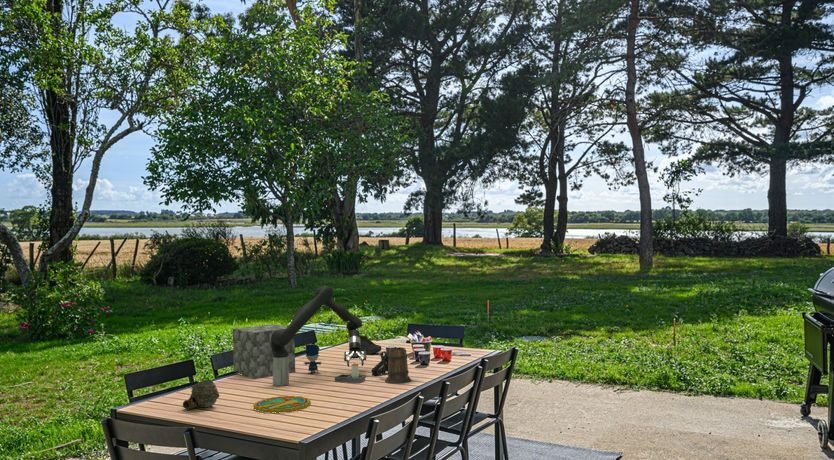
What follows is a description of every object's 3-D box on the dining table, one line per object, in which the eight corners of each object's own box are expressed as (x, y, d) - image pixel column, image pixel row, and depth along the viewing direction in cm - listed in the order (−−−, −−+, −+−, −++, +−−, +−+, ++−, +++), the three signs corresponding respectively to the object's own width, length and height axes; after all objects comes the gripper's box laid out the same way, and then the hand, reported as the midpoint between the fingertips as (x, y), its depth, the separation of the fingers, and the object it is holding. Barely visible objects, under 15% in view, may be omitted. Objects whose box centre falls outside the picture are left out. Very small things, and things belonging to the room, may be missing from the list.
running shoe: (375, 356, 496) (375, 338, 496) (346, 352, 514) (345, 335, 514) (385, 353, 505) (384, 336, 505) (355, 350, 523) (355, 333, 523)
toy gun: (402, 365, 440) (391, 348, 435) (406, 366, 435) (395, 349, 431) (379, 387, 429) (368, 369, 425) (383, 388, 425) (372, 370, 421)
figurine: (323, 371, 442) (323, 341, 442) (320, 374, 432) (319, 344, 432) (305, 371, 443) (304, 342, 443) (301, 374, 433) (300, 344, 434)
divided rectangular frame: (358, 383, 403) (358, 378, 403) (334, 381, 410) (334, 376, 410) (365, 380, 410) (364, 375, 410) (341, 379, 417) (341, 374, 417)
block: (254, 379, 424) (253, 332, 424) (233, 373, 446) (232, 328, 447) (295, 372, 444) (294, 327, 444) (273, 366, 466) (272, 324, 466)
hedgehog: (216, 373, 359) (191, 373, 348) (224, 396, 351) (199, 396, 340) (199, 393, 366) (174, 394, 355) (206, 415, 358) (181, 417, 347)
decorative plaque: (277, 412, 331) (241, 403, 350) (277, 417, 331) (241, 408, 350) (322, 399, 354) (286, 392, 373) (322, 404, 354) (286, 397, 373)
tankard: (416, 379, 410) (416, 347, 410) (402, 384, 396) (402, 351, 396) (385, 376, 422) (384, 345, 422) (370, 381, 407) (369, 349, 407)
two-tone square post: (358, 382, 407) (358, 363, 407) (352, 382, 406) (351, 364, 406) (358, 380, 411) (358, 362, 411) (352, 381, 410) (351, 363, 410)
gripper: (343, 341, 427) (344, 362, 416) (365, 340, 428) (366, 361, 417) (344, 348, 432) (344, 369, 421) (365, 347, 434) (366, 368, 422)
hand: (355, 365), depth 419 cm, fingers open, 8 cm apart
